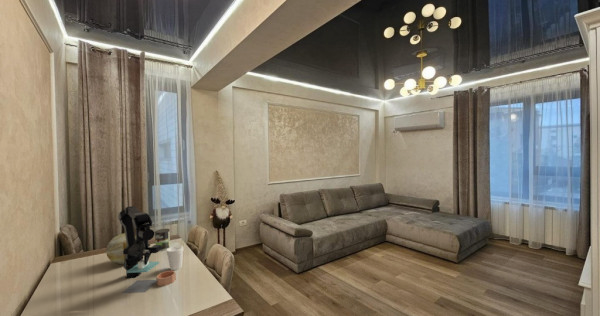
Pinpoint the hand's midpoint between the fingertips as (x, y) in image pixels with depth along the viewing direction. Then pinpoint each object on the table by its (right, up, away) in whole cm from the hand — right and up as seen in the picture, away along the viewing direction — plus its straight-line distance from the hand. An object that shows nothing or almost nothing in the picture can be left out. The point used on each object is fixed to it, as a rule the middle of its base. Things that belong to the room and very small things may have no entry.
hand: (143, 264), depth 138 cm
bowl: (+11, -12, +4) cm, 16 cm away
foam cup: (+8, -12, +21) cm, 25 cm away
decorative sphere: (-34, -13, +34) cm, 50 cm away
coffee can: (-21, -12, +58) cm, 63 cm away
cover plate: (0, -2, 0) cm, 2 cm away
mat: (-1, -12, 0) cm, 12 cm away
